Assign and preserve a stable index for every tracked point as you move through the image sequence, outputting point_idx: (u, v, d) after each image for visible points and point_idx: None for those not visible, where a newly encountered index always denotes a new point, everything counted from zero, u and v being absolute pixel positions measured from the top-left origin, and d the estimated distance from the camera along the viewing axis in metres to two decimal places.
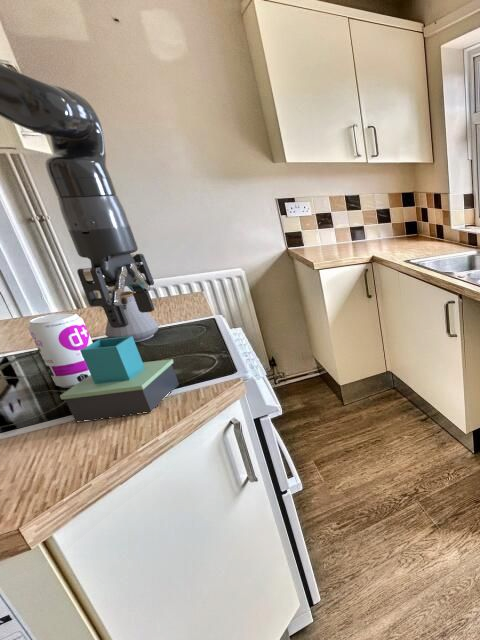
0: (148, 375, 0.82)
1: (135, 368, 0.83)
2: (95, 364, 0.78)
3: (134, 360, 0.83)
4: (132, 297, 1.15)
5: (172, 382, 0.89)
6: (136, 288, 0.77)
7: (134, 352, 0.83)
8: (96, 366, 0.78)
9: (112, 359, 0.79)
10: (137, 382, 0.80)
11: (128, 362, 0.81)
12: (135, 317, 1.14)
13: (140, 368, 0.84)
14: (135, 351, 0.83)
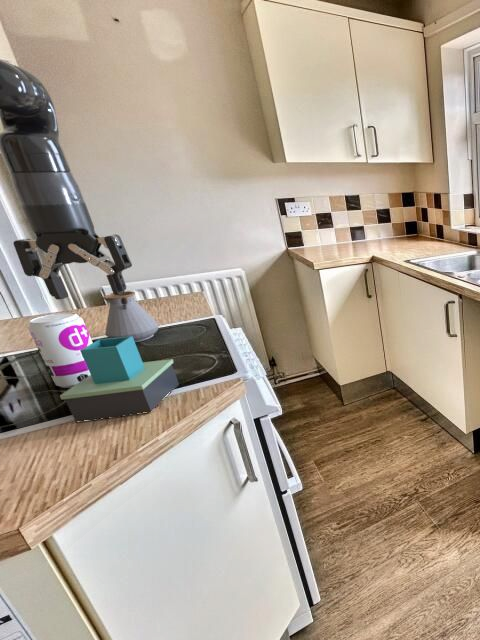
0: (148, 375, 0.82)
1: (135, 368, 0.83)
2: (95, 364, 0.78)
3: (134, 360, 0.83)
4: (132, 297, 1.15)
5: (172, 382, 0.89)
6: None
7: (134, 352, 0.83)
8: (96, 366, 0.78)
9: (112, 359, 0.79)
10: (137, 382, 0.80)
11: (128, 362, 0.81)
12: (135, 317, 1.14)
13: (140, 368, 0.84)
14: (135, 351, 0.83)
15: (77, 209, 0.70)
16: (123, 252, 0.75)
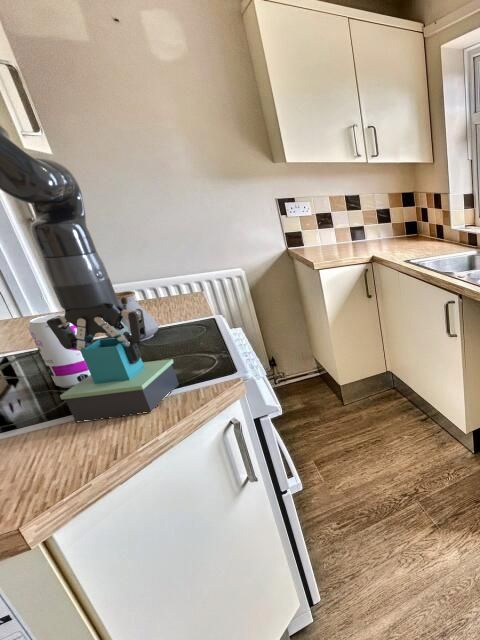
0: (148, 375, 0.82)
1: (135, 368, 0.83)
2: (95, 364, 0.78)
3: None
4: (132, 297, 1.15)
5: (172, 382, 0.89)
6: None
7: None
8: (96, 366, 0.78)
9: (112, 359, 0.79)
10: (137, 382, 0.80)
11: (128, 362, 0.81)
12: None
13: (140, 368, 0.84)
14: None
15: (102, 286, 0.75)
16: (141, 325, 0.81)
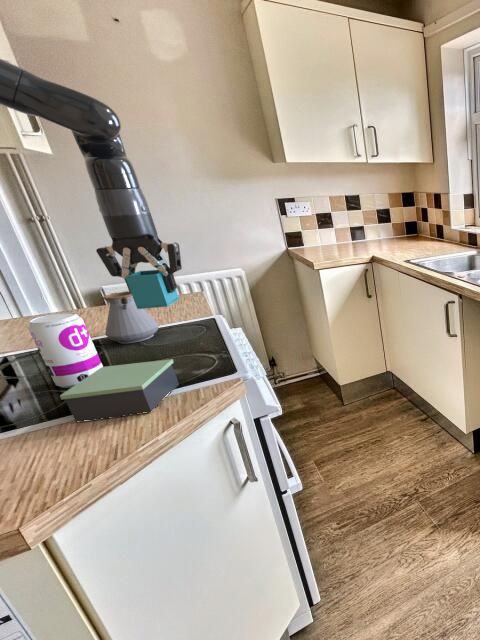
0: (148, 375, 0.82)
1: (172, 297, 0.92)
2: (137, 290, 0.88)
3: None
4: (132, 297, 1.15)
5: (172, 382, 0.89)
6: None
7: None
8: (139, 292, 0.88)
9: (153, 286, 0.88)
10: (137, 382, 0.80)
11: (166, 290, 0.91)
12: (135, 317, 1.14)
13: (176, 298, 0.94)
14: None
15: (145, 218, 0.85)
16: (178, 258, 0.90)
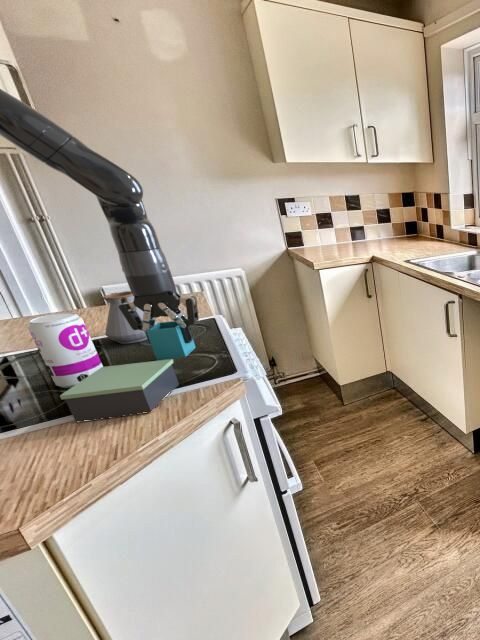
0: (148, 375, 0.82)
1: (189, 347, 0.97)
2: (157, 343, 0.92)
3: None
4: (132, 297, 1.15)
5: (172, 382, 0.89)
6: None
7: None
8: (158, 344, 0.93)
9: (172, 339, 0.93)
10: (137, 382, 0.80)
11: (184, 341, 0.95)
12: None
13: (192, 347, 0.99)
14: None
15: (165, 276, 0.90)
16: (195, 310, 0.95)
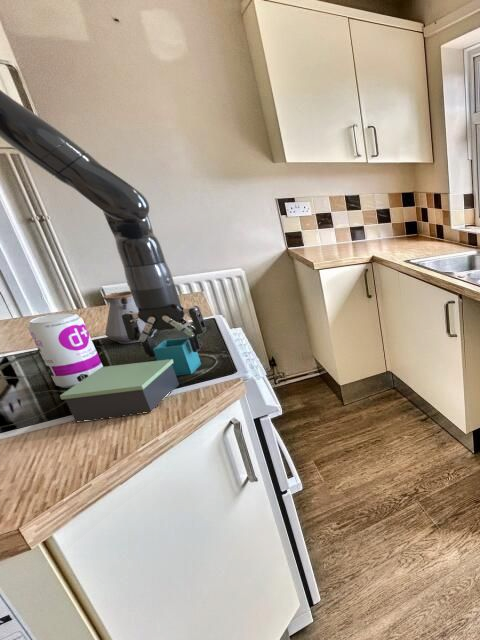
0: (148, 375, 0.82)
1: (195, 364, 0.99)
2: None
3: (194, 357, 0.99)
4: (132, 297, 1.15)
5: (172, 382, 0.89)
6: None
7: None
8: None
9: (178, 356, 0.95)
10: (137, 382, 0.80)
11: (190, 359, 0.97)
12: None
13: (198, 364, 1.00)
14: None
15: (170, 290, 0.91)
16: (201, 319, 0.96)
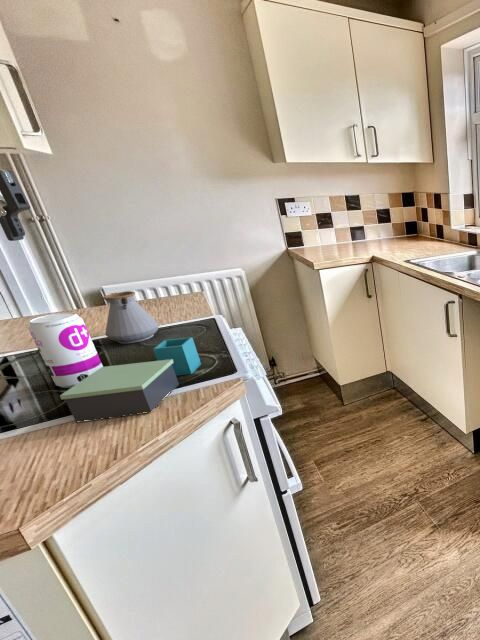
0: (148, 375, 0.82)
1: (195, 364, 0.99)
2: None
3: (194, 357, 0.99)
4: (132, 297, 1.15)
5: (172, 382, 0.89)
6: None
7: (194, 350, 0.99)
8: None
9: (178, 356, 0.95)
10: (137, 382, 0.80)
11: (190, 359, 0.97)
12: (135, 317, 1.14)
13: (198, 364, 1.00)
14: (194, 350, 0.99)
15: None
16: (17, 190, 0.65)
